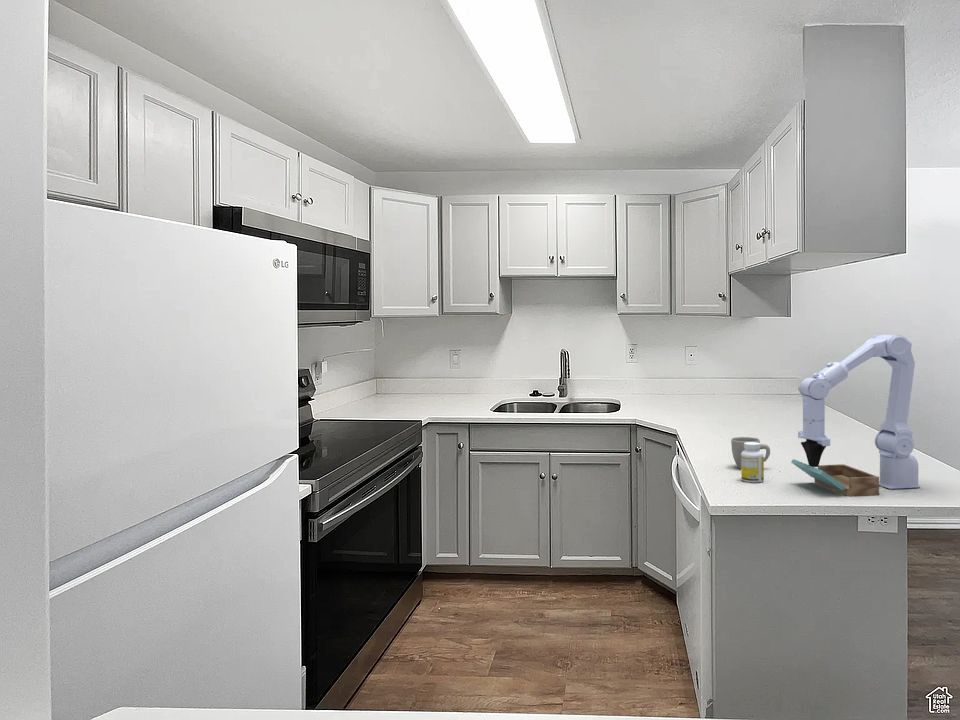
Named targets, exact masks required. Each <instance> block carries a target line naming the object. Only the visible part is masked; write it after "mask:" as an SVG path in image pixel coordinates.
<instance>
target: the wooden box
mask: <svg viewBox="0 0 960 720" xmlns="http://www.w3.org/2000/svg"><path fill="white" fill-rule="evenodd" d="M817 469H820V470H822V471H824V472H825V473H827V474H828V475H829V476H831V477H832V478H834V479H835V480H836V481H838V482H839V483H841V484H842V485H843V486H845V487H846V490H841V489H838V488H836V487H834V486H831V485H829V484H827V483H824V482H822V481H820V480H817V479H815V478H814V482H815V483H816V484H819V485H821V486H823V487H825V488H828V489H829V490H832V491H835V492H837V493H838V494H842V495H844V496H846V497H863V496H866V497H867V496H879V495H880V485H879V481H880V476H877V475H875V474H872V473H869V472H866V471H865V470H860V469H857V468H855V467H852V466H849V465H847V464H843V463H840V464H825V465H824V464H819V466H818V467H817Z"/></svg>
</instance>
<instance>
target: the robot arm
mask: <svg viewBox="0 0 960 720" xmlns="http://www.w3.org/2000/svg"><path fill="white" fill-rule="evenodd" d="M912 346H913V345H912V342H911V341H910V340H909V339H908V338H907V337H905V335H902V334H883V333H879V334H877V333H876V334H875V335H873V336H872V338H869V339H867V340H866V341H865V342H864V343H863V344H862V345H860V347H858V348H857V349H855V350H854V351H853V352H852V353H851V354H849V355H848V356H847V357H846V358H844V359H843V360H841V361H840V362H838V361H833V362H829V361H828V363H826V364H825V365H826V367H824V368H822V369H821V370H819V372H815V373H813V374H812V377H806V378H804V379H803V380H802V381H801V383H800V385H799V386H798V391H799V394H800V395H801V396H802V430H800V431H799V430H798V431H797V438H798V439H804V440H805V441H801V442H800V445H801V446H802V448H803V451H804V452H805V455H806V459H807V463H808V464H807V465H810V466H812V467H815V468H818V466H819V465H820V462H821V458H822V455H823V453H824V451H825V449H826V447H830V446H831V438H829V437H827V435H826V434H825V430H826V427H825V421H826V420H825V419H826V418H825V413H826V412H825V410H826V409H825V408H826V407H825V406H826V405H825V399H826V397H828V395H829V393H830V390H831V389H833V388H835V387H836V386H838V385H839V384H841V382H843V381H846V379H848V376H849V372H850V371H853V369H855V368H857V367H858V366H860V365H861V364H863V363H865V362H867V361H868V360H870V359H872V358H877V357H879V358H881V359H883V360H884V361H886V362H887V363H888V365H889V366H890V367H891V376H890V383H889V384H890V385H889V390H888V391H889V392H888V393H889V394H888V400H887V407H886V415H885V421H884V422H883V423H881V424H880V425H879V429H878V432H877V434H876V435H875V437H874V444H875V448H877V449H878V453H879V487H882V488H886V489H887V490H896V489H917V488H920V487H921V485H919V463H918V459H917V458H916V457H915V456H914V455H911V454H912V452H913V451H914V448H915V443H914V440H913V431H912V428H910V427H909V424H908V419H909V410H910V403H911V397H912V395H911V394H912V389H913V379H914V374H915V373H914V372H915V363H916V361H915V359H914V358H915V357H914V355H913V352H912Z"/></svg>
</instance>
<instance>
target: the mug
mask: <svg viewBox="0 0 960 720" xmlns="http://www.w3.org/2000/svg"><path fill="white" fill-rule="evenodd" d="M730 440H731V441H730V442H731V453H732V458H733V461H734V463H735V464H736V468H737V469H738V468H740V469H739V470H741V453H742V452H743V451H744V450H745V448H744V443H746V442H757V443H760V448H759V449H760V450H765V454H764V463H765V462H767V460H768V459H769V458H770V455H771V448H770V446H769V445H768V444H763V443H762V444H761V439H759V438H757V437H750V436H736V437H732V438H731V439H730Z"/></svg>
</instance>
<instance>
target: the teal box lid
mask: <svg viewBox="0 0 960 720" xmlns="http://www.w3.org/2000/svg"><path fill="white" fill-rule="evenodd" d="M790 463H791V464H793V465H794V466H795V467H796V468H798V469H799V470H801V471H803V472H804V473H805V474H806V475H808V476H809V477H811V478H813V479H814V480H815V479H817V480H820V481H822V482H824V483H827V484H829V485H831V486H834V487H836V488H838V489H841V490H846V487H845V486H843V485H842V484H841V483H839V482H838V481H836V480H835V479H834V478H832V477H831V476H829V475H828V474H827V473H825V472H824V471H822V470H820V469H818V467H812V466H810V465H809V464H807V463H805V462H801V461H799V460H797V459H795V458H792V460H791V462H790Z"/></svg>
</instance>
